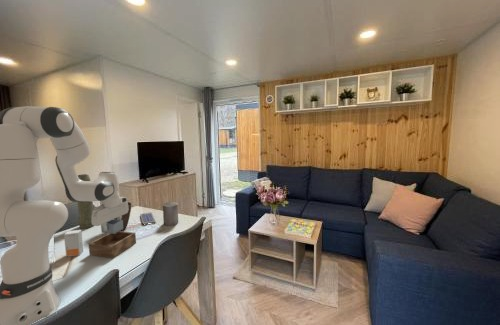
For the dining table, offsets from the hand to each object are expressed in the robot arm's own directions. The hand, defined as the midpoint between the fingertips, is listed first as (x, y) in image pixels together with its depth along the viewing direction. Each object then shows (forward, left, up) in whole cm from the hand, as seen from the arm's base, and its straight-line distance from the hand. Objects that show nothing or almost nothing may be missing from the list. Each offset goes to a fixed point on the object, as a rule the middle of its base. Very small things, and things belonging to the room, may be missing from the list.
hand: (112, 227), depth 116 cm
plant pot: (+22, +17, -12) cm, 30 cm away
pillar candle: (+38, -10, -12) cm, 41 cm away
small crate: (0, 0, -2) cm, 2 cm away
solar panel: (+40, +11, -13) cm, 44 cm away
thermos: (+21, +42, -12) cm, 48 cm away
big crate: (0, 0, -12) cm, 12 cm away
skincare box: (-9, +15, -12) cm, 21 cm away
